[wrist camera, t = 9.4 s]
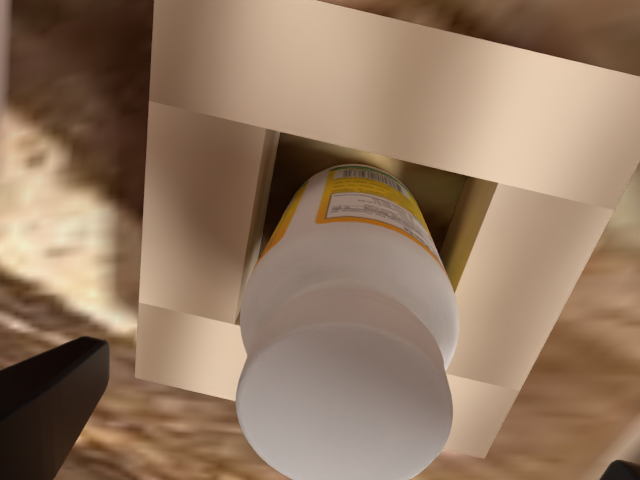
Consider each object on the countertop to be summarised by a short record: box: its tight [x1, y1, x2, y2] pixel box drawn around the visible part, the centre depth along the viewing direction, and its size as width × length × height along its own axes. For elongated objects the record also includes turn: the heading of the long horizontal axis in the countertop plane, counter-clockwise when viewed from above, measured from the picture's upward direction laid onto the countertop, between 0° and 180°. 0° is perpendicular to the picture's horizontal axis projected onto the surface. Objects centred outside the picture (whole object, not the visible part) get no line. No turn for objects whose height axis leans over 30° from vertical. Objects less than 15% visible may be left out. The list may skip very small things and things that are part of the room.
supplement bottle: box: [236, 164, 459, 480], centre depth 12 cm, size 5×5×10 cm
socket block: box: [135, 0, 640, 459], centre depth 15 cm, size 14×14×3 cm
